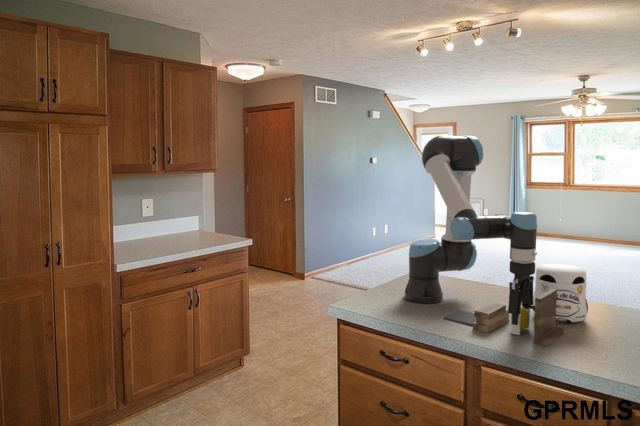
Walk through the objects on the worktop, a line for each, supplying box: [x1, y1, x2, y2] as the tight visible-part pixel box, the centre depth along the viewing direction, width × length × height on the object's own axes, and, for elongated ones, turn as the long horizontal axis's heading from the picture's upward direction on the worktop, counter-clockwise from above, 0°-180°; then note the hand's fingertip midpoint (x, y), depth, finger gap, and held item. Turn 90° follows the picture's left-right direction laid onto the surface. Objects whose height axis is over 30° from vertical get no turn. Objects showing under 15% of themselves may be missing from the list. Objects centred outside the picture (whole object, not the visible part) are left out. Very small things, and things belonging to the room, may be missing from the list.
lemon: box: [520, 307, 529, 333], centre depth 153 cm, size 6×6×8 cm
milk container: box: [531, 263, 589, 325], centre depth 163 cm, size 17×17×18 cm
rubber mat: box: [442, 309, 476, 327], centre depth 166 cm, size 11×11×1 cm
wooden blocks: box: [472, 289, 565, 348], centre depth 153 cm, size 23×16×14 cm
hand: (520, 330), depth 153 cm, fingers open, 7 cm apart
